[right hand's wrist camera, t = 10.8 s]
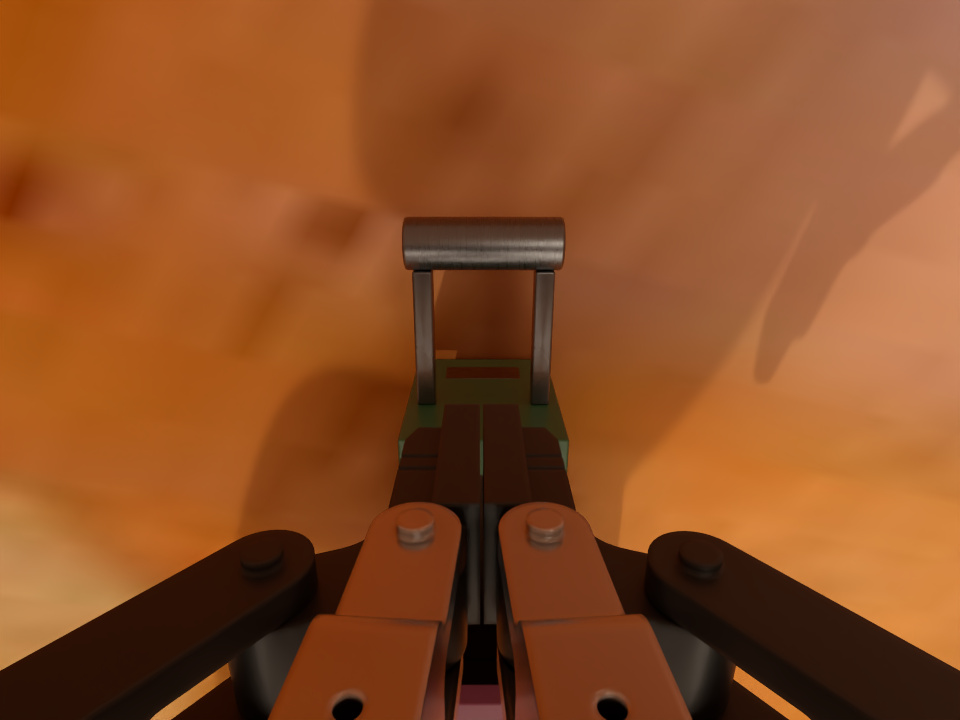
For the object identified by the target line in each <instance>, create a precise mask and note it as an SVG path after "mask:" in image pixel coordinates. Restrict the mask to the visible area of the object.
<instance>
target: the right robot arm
mask: <svg viewBox="0 0 960 720" xmlns="http://www.w3.org/2000/svg"><path fill="white" fill-rule="evenodd" d="M483 565H484V624H497V674H498V682H499V691H500V699H501V707H502V716H503V720H789V719H787V718H786V717H784V716H783V715H782V714H780V713H779V712H778V711H776V710H775V709H773V708H772V707H771V706H769V705H768V704H767V703H765V702H764V701H762V700H761V699H760V698H758V697H757V696H756V695H754V694H753V693H751V692H750V691H749V690H747V689H746V688H745V687H743V686H742V685H740V684H739V683H738V682H736V681H735V680H734V679H733V678H734V673H735V668H736V666H738V667H739V668H741V669H742V670H743V671H745V672H746V673H748V674H749V675H750V676H752V677H753V678H755V679H756V680H758V681H759V682H760V683H762V684H763V685H765V686H766V687H767V688H769V689H770V690H772V691H773V692H775V693H776V694H777V695H779V696H780V697H782V698H783V699H784V700H786V701H787V702H789V703H790V704H791V705H793V706H794V707H796V708H797V709H799V710H800V711H801V712H803V713H804V714H805V715H807V716H808V717H809V718H810V719H811V720H960V671H959V670H957V669H956V668H954V667H952V666H950V665H948V664H946V663H945V662H943V661H941V660H939V659H937V658H936V657H934V656H932V655H930V654H928V653H926V652H925V651H923V650H921V649H919V648H917V647H916V646H914V645H912V644H910V643H908V642H907V641H905V640H903V639H901V638H899V637H897V636H896V635H894V634H892V633H890V632H888V631H887V630H885V629H883V628H881V627H879V626H878V625H876V624H874V623H872V622H870V621H868V620H867V619H865V618H863V617H861V616H859V615H858V614H856V613H854V612H852V611H850V610H849V609H847V608H845V607H843V606H841V605H839V604H838V603H836V602H834V601H832V600H830V599H829V598H827V597H825V596H823V595H821V594H820V593H818V592H816V591H814V590H812V589H810V588H809V587H807V586H805V585H803V584H801V583H800V582H798V581H796V580H794V579H792V578H790V577H789V576H787V575H785V574H783V573H781V572H780V571H778V570H776V569H774V568H772V567H771V566H769V565H767V564H765V563H763V562H761V561H760V560H758V559H756V558H754V557H752V556H751V555H749V554H747V553H745V552H743V551H742V550H740V549H738V548H736V547H734V546H732V545H731V544H729V543H727V542H725V541H723V540H721V539H719V538H716V537H713V536H711V535H707V534H703V533H698V532H691V531H676V532H670V533H667V534H663V535H661V536H659V537H658V538H656V539H655V540H654V541H653V542H652V543H651V545H650V547H649V549H648V554H646V553H642V552H637V551H633V550H628V549H624V548H620V547H616V546H613V545H611V544H608V543H606V542H604V541H601V540H599V539H598V538H596V537H595V536H594V535H593V532H592V530H591V527H590V525H589V523H588V522H587V520H586V519H585V518H584V517H583V516H582V515H581V514H579V513H578V512H576V509H575V505H574V501H573V497H572V493H571V489H570V485H569V481H568V477H567V473H566V470H565V465H564V461H563V457H562V453H561V449H560V445H559V441H558V439H557V438H556V437H555V436H554V435H552V434H551V433H550V432H549V431H548V430H547V429H546V428H545V427H522V426H521V419H520V411H519V405H518V404H483ZM468 624H480V404H445V405H444V413H443V421H442V427H418V428H417V429H416V430H415V431H414V432H413V433H412V434H411V435H410V436H409V437H408V438H407V439H406V440H405V442H404V446H403V450H402V457H401V459H400V463H399V470H398V471H397V475H396V479H395V484H394V488H393V492H392V496H391V500H390V504H389V509H387V510H385V511H384V512H382V513H381V514H379V515H378V516H377V517H376V518H375V519H374V520H373V522H372V523H371V525H370V527H369V530H368V532H367V535H366V537H365V540H363V541H361V542H359V543H357V544H354V545H352V546H349V547H345V548H342V549H337V550H333V551H328V552H324V553H319V554H315V552H314V547H313V545H312V543H311V542H310V540H309V539H308V538H306V537H305V536H303V535H301V534H299V533H297V532H293V531H288V530H268V531H262V532H258V533H254V534H251V535H248V536H245V537H243V538H241V539H239V540H237V541H235V542H233V543H231V544H229V545H228V546H226V547H224V548H222V549H220V550H218V551H217V552H215V553H213V554H211V555H209V556H208V557H206V558H204V559H202V560H200V561H199V562H197V563H195V564H193V565H191V566H189V567H188V568H186V569H184V570H182V571H180V572H179V573H177V574H175V575H173V576H171V577H170V578H168V579H166V580H164V581H162V582H160V583H159V584H157V585H155V586H153V587H151V588H150V589H148V590H146V591H144V592H142V593H141V594H139V595H137V596H135V597H133V598H131V599H130V600H128V601H126V602H124V603H122V604H121V605H119V606H117V607H115V608H113V609H112V610H110V611H108V612H106V613H104V614H102V615H101V616H99V617H97V618H95V619H93V620H92V621H90V622H88V623H86V624H84V625H82V626H81V627H79V628H77V629H75V630H73V631H72V632H70V633H68V634H66V635H64V636H63V637H61V638H59V639H57V640H55V641H53V642H52V643H50V644H48V645H46V646H44V647H43V648H41V649H39V650H37V651H35V652H34V653H32V654H30V655H28V656H26V657H24V658H23V659H21V660H19V661H17V662H15V663H14V664H12V665H10V666H8V667H6V668H5V669H3V670H1V671H0V720H150V719H151V718H152V717H153V716H154V715H155V714H156V713H158V712H159V711H160V710H161V709H163V708H164V707H166V706H167V705H169V704H170V703H171V702H173V701H174V700H176V699H177V698H178V697H180V696H181V695H183V694H184V693H186V692H187V691H188V690H190V689H191V688H193V687H194V686H195V685H197V684H198V683H200V682H201V681H202V680H204V679H205V678H207V677H208V676H210V675H211V674H212V673H214V672H215V671H217V670H218V669H219V668H221V667H222V666H224V665H225V664H227V663H228V665H229V670H230V675H231V677H229V678H228V679H226V680H225V681H224V682H222V683H221V684H220V685H218V686H217V687H215V688H214V689H213V690H211V691H210V692H209V693H207V694H206V695H204V696H203V697H202V698H200V699H199V700H198V701H196V702H195V703H193V704H192V705H191V706H189V707H188V708H187V709H185V710H184V711H182V712H181V713H180V714H178V715H177V716H176V717H174V718H173V719H171V720H457V716H458V707H459V699H460V691H461V682H462V674H463V654H464V652H465V649H466V645H467V626H468Z"/></svg>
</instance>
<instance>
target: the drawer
mask: <svg viewBox="0 0 960 720" xmlns="http://www.w3.org/2000/svg"><path fill="white" fill-rule="evenodd" d="M402 252H403V261H404V266H405V268H406V269H407V270H413V272H412V283H413V308H414V333H415V359H416V374H415V378H414V381H413V385H412V389H411V393H410V397H409V400H408V404H407V408H406V412H405V416H404V419H403V423H402V427H401V431H400V434H399V438H398V453H399V463H400V459H401V457H402V450H403V446H404V442H405V440H406V439H407V438H408V437H409V436H410V435H411V434H412V433H413V432H414V431H415V430H416V429H417V428H418V427H442V421H443V413H444V405H445V404H480V624H468V626H467V645H466V649H465V652H464V654H463V674H462V682H461V685H499V682H498V674H497V624H484V565H483V404H518V405H519V411H520V419H521V426H522V427H545V428H546V429H547V430H548V431H549V432H550V433H551V434H552V435H554V436H555V437H556V438H557V439H558V441H559V445H560V449H561V453H562V457H563V461H564V465H565V470H566V473H567V467H568V450H569V439H568V435H567V432H566V428H565V425H564V421H563V418H562V414H561V411H560V407H559V404H558V400H557V397H556V393H555V390H554V387H553V383H552V380H551V376H550V370H551V349H552V327H553V306H554V285H555V272H554V270H561V269H562V267H563V263H564V257H565V224H564V220H563V218H561V217H406V218H404V221H403V228H402ZM433 270H534V279H533V308H532V338H531V359H436V358H435V320H434V283H433Z"/></svg>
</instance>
